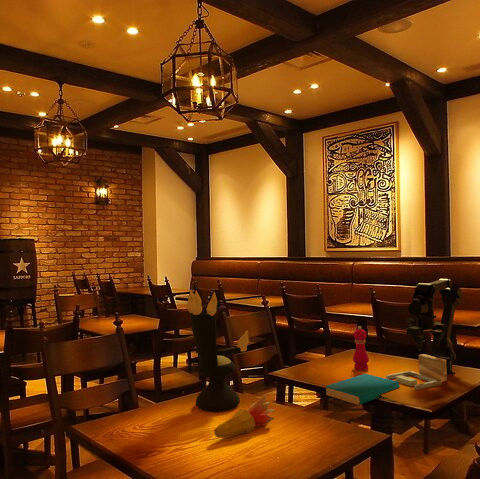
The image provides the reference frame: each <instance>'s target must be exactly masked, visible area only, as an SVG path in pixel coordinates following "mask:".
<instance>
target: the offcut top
mask: <svg viewBox="0 0 480 479" xmlns="http://www.w3.org/2000/svg"><path fill="white" fill-rule="evenodd" d="M394 381H397V382H399V384H401V383H402V384H401V385H404V384H406V385H409V386H414V385H417V384H418V380H417V379H416V378H412V377H410V376H402V375H400V376H396V377H395V379H394ZM406 385H405V386H406ZM409 386H408V387H409Z"/></svg>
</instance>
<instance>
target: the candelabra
mask: <svg viewBox="0 0 480 479" xmlns="http://www.w3.org/2000/svg"><path fill="white" fill-rule="evenodd" d="M217 306H218V299H217V296H216V292H215V291H213V294H212V296H211V298H210V301H209V302H208V304H207V306H206V313H202V311H203V306H202V298H201V296H200V294H199V293H198V291H197V290H195V293H194V292H193V291H192V289H190V290H189V297H188V300H187V305H186V309H187V310H188V312H189V321H190V326H191V331H192V335H193V339H194V344H195V353H196V354H197V360H198V367H197V370H198V373H199V375H201V376H202V377H205V378H209V380H208V384H206V386H205V387H204V388H203V390H201V391H200V392H199V393H198V395H197V397H196V399H195V406H197V408H198V409H199V410H201V411H206V412H211V413H218V412H225V411H226V412H227V411H229V410H233V409H234V408H235V409H236V408H237V407H238V405H239V404H240V402H241V399H240V396H239V394H238V393H237V392H236V391H235V389H233V388H232V387H231V386H230V385H228V383H227V382H226V377H229V376H230V375H232V374H233V373H234V372H235V369H236V365H235V363H234V362H233V361H232V360H231V359H230V358H228V357H226V356H228V355H234V354H239V353H240V352H246V351H247V350H248V348H247V347H248V344H249V343H250V338H249V330H248V329H247V330H246V331H245V332H244V333H243V334H242V335H241V336H240V338H239V339H238V342H237V344H236V346H232V347H227V348H222V349H217V318H216V316H215V314H216V313H217Z"/></svg>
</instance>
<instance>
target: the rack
mask: <svg viewBox="0 0 480 479" xmlns="http://www.w3.org/2000/svg"><path fill="white" fill-rule="evenodd" d="M400 375H402V376H405V377H413V378H415V379H416V378H417V379H419V380H423V381H425V382H421V383H417V385H415V387H414V390H416V391H419V390H423V389H427V388H432V387H436V386H442V385H443V384H442V383H443V382H441V380H438V379H435V378H432V377H429V376H425V375H422V374H419V372H415V371H412V370H406V371H401V372H396V373H391V374H386V375H385V379H389V380H395V377H396V376H400Z"/></svg>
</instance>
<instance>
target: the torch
mask: <svg viewBox="0 0 480 479" xmlns="http://www.w3.org/2000/svg"><path fill="white" fill-rule="evenodd" d="M267 397H268V394H266V395H264V396H261V397H259V398H258V399H257V401H255V402H253V403H251V404H250V406H249V407H248V408H247V409H243V408H240V409H239V410H237V412H236V413H234V415H232V416H231V417H230V418H229V419H228V420H225V421H224V422H222V423H220V424H218V425H217V426H216V427H215V429H214V430H213V432H214V436H215V437H217V438H221V439H222V438H223V439H224V438H230V437H235V436H237V435H240V434H247V433H248V434H249V433H253V432H254V428H255V427H265V426H266V425H267V424H269V423H270V422H272V421H273V420H274V419H275V418H274V417H273V416H270V415H269V414H270V413H272V412H274V411H275V409H273V408H268V407H269V406H270V404H271V402H270V401H266V400H267ZM265 401H266V402H265Z"/></svg>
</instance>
